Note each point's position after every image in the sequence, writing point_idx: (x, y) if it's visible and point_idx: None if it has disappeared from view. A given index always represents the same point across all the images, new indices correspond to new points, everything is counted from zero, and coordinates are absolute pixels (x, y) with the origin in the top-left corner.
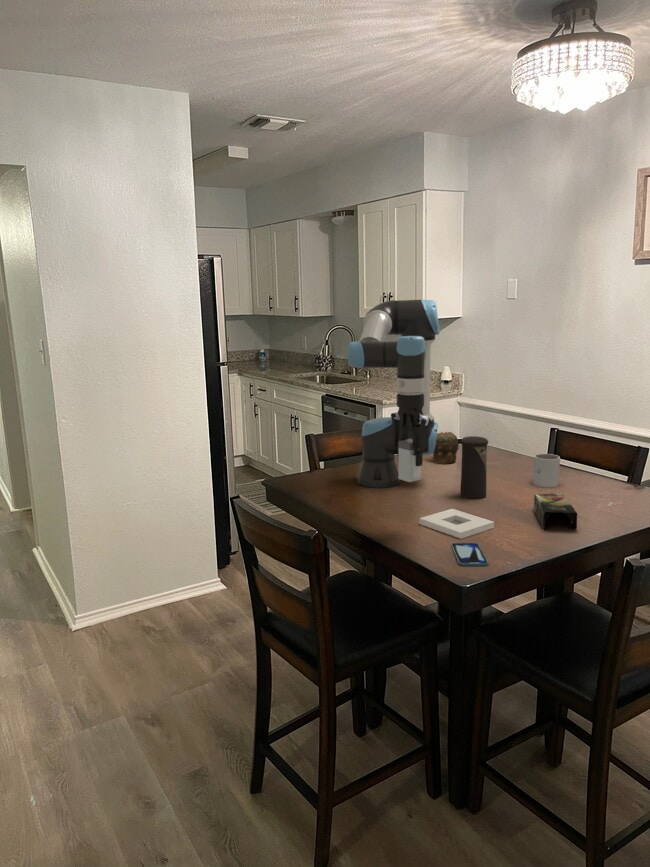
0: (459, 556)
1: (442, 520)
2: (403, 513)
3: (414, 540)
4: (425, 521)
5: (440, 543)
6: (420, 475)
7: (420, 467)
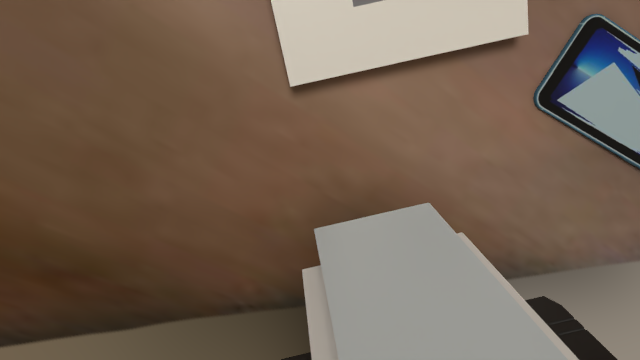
0: (637, 153)
1: (367, 9)
2: (126, 67)
3: (428, 194)
4: (325, 77)
5: (501, 130)
6: (466, 240)
7: (496, 274)
